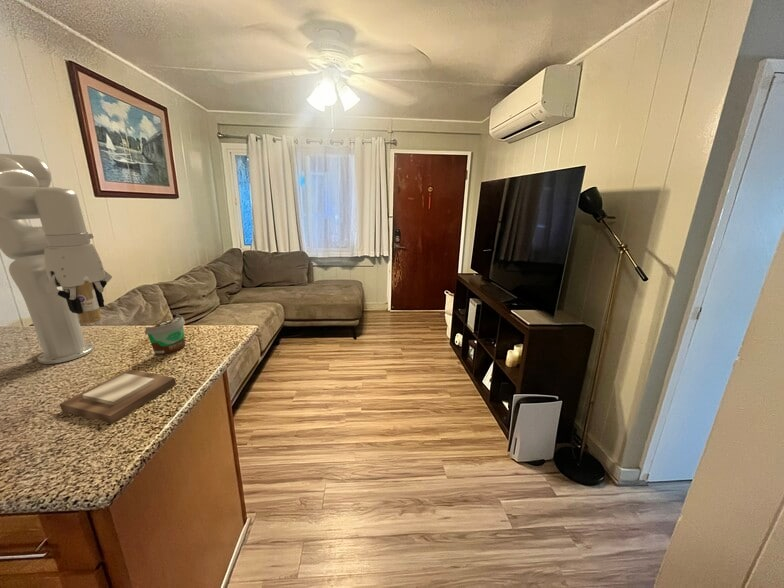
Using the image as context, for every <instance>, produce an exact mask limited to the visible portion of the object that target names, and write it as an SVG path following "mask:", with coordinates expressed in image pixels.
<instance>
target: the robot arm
mask: <svg viewBox="0 0 784 588" xmlns="http://www.w3.org/2000/svg"><path fill="white" fill-rule="evenodd" d="M51 182H52V173H51V171H50V168H49V167H48V165H47V164H46V163H45V162H44V161H43V160H41V159H40V158H38V157H36V156H33V155H24V154H22V155H21V154H8V153H0V250H1V252H2V253H3V254H4V256H6V257H7V258H9V259H11V260H13V261H12V262H11V263H10V264H9V266H8V272H9V274H10V276H11V279H12V280H13V282H14V283H15V285H16V287H17V288H18V290H19V292H20V294H21V295H22V297H23V300H24V303H25V304H26V307H27V311H28V313H29V316H30V318H31V321H32V324H33V327H34V330H35V332H36V335H37V338H38V341H39V347H40V348H41V349H42V353H41V354H40V355H39V356H38V357H37V360H38V363H40V364H43V365H44V364H45V365H50V364H51V365H54V364H60V363H65V362H69V361H72V360H75V359H79V358H81V357H84V356H86V355H87V354H90V353H91V352H92V351H93V350H95V349H94V348H95V347H94V344H93V343H91V342H86V339H85V337H84V333H83V330H82V327H81V325H80V323H81V322H80V319H79V316H78V315H79V314H81V313H82V312H83V310H82V307H81V303H80V300H79V299H77V298H76V287H78V286H80V285H83V284H84V283H85V281H89V282H90V283H92V284H93V287H94V290H95V293H96V297H97V301H98V304H99V308H104V307H105V303H104V302H105V300H104V296H103V292H104V291H105V290H104V288H105V287H106V286H107V284H108V283H109V282H110V281H111V280H112V278H113V276H112V275H111V274H110V273H108V272H107V271H106V270H105V269H104V268H105V267H104V265H103V263H102V259H101V257H100V254H99V252H98V251H97V249H96V246H95V245H94V244H93V243H90V242H91V240H92V239H94V235H93V234H92V233H89V231H88V232H87V228H86V223H85V220H84V215H83V213H82V209H81V205H80V201H79V197H78V195H77V193H76V192H75V191H74V190H72V189H70V188H63V187H62V188H61V187H55V186H54V187H53V186H51V187H50V185H51ZM34 219H35V220H36V219H39V220H40V224H41V226H33V225H30V224H29V223H28V221H27V220H34ZM85 276H87V277H88V278H89V279H88V280H85V281H83V278H84V277H85ZM60 287H62V288H61V289H62V290H61V289H58V288H60Z"/></svg>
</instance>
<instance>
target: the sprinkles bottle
mask: <svg viewBox="0 0 784 588" xmlns="http://www.w3.org/2000/svg"><path fill="white" fill-rule="evenodd" d="M88 279H89V278H88V277H87V276H85V277H84V278H83V281H85V280H88ZM76 298H77V299H79V300H80V303H81V307H82V310H83V312H82V313H81V314H78V318H79V323H81V324H91V323H97V322H100V321H101V320H103V316H102V314H101V310H100V307H99V304H98V301H97V297H96V293H95V290H94V287H93V284H92V283H90V282H89V281H85V283H84V284H83V285H80V286H78V287H76Z"/></svg>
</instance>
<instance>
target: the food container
mask: <svg viewBox="0 0 784 588" xmlns="http://www.w3.org/2000/svg"><path fill="white" fill-rule="evenodd" d="M185 324H186V321H185V319H184V317H183V316H182V315H180V314H176V313H175V317H173V318H171V319H168V320H164V321H161V322H160V323H158V324H156V325H155V326H152V327H147V326H145V329H144V333H145V334H144V335H147V336H148V339H149V342H150V345H151V346H152V347H151V348H152V349H153V352H154V355H155V356H167V355H172V354H175V353H177V351H178V352H180V351H182V350H184V348H185V347H186V339H185V330H184V325H185ZM181 349H182V350H181Z"/></svg>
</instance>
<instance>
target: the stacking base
mask: <svg viewBox="0 0 784 588" xmlns="http://www.w3.org/2000/svg"><path fill="white" fill-rule="evenodd" d="M175 385H177V382H176V378H175V377H172V376H167V375H162V374H161V375H160V374H158V373H157V374H155V373H151V372H145V371H139V370H133V369H129V368H128V369H127V370H125V371H123V372H121V373H119V374H117V375H115V376H113V377H111V378H108V379H107V380H105V381H102V382H100V383H99V384H97V385H95V386H93V387H90V388H88V389H87V390H85V391H82V392H81V393H79V394H77V395H75V396H73V397H71V398H68V399H67V400H63V402H61V403H59V407H60V409H61V411H62V412H64V413H69V414H71V415H72V414H73V415H76V416H80V417H84V418H89V419H91V420H92V419H93V420H96V421H101V422H105V423H107V424H108V423H109V424H114V423H116V422H118V421H119V420H121V419H122V418H124V417H125V416H127V415H129V414H131V413H132V412H134V411H135V410H137V409H138V408H140V407H141V406H143V405H145V404H146V403H148V402H150V401H152V400H154V399H155V398H156V397H158V396H160V395H162V394H163V393H164V392H166V391H168V390H169V389H171V388H174V386H175Z"/></svg>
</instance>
